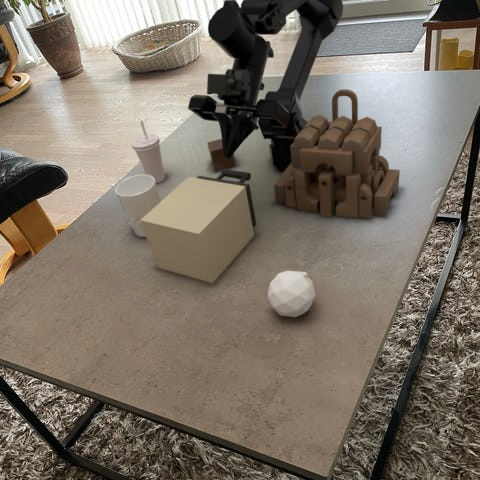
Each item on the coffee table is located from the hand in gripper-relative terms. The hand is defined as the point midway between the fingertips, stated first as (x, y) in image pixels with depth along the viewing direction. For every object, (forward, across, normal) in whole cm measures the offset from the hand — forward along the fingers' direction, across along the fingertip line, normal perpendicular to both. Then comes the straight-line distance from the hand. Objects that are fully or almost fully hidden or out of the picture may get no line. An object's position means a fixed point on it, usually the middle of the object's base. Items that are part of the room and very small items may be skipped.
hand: (226, 157), depth 89 cm
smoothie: (+4, -27, +14) cm, 31 cm away
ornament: (+23, +23, -5) cm, 33 cm away
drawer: (+13, 0, +4) cm, 14 cm away
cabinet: (+17, 0, +1) cm, 17 cm away
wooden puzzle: (0, +16, +18) cm, 24 cm away
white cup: (+16, -16, +3) cm, 23 cm away
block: (-4, -15, +22) cm, 26 cm away
